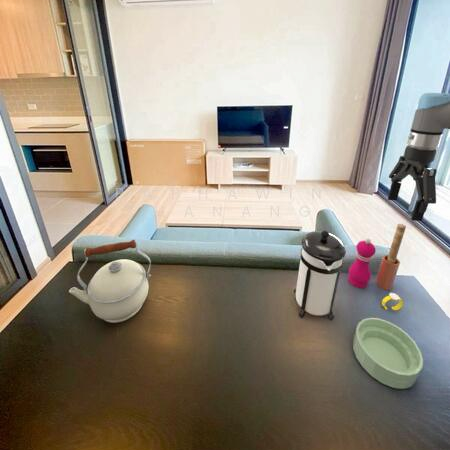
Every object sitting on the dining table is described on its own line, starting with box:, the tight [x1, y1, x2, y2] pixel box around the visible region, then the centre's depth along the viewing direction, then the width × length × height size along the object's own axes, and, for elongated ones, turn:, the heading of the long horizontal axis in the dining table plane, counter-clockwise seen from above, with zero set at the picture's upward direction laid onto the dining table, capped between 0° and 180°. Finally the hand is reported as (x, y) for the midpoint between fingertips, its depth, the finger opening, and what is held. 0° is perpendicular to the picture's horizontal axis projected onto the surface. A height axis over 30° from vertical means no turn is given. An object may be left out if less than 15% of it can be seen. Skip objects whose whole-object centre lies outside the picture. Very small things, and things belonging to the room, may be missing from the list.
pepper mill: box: [347, 238, 376, 289], centre depth 90 cm, size 7×7×20 cm
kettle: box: [68, 239, 152, 324], centre depth 79 cm, size 25×18×25 cm
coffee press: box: [293, 230, 347, 321], centre depth 80 cm, size 17×16×30 cm
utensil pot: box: [375, 254, 401, 291], centre depth 90 cm, size 5×5×12 cm
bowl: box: [352, 317, 424, 390], centre depth 67 cm, size 15×15×6 cm
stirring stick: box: [387, 223, 407, 264], centre depth 88 cm, size 2×2×26 cm
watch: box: [381, 292, 404, 311], centre depth 82 cm, size 6×3×6 cm, turn 87°
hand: (403, 209), depth 81 cm, fingers open, 13 cm apart
